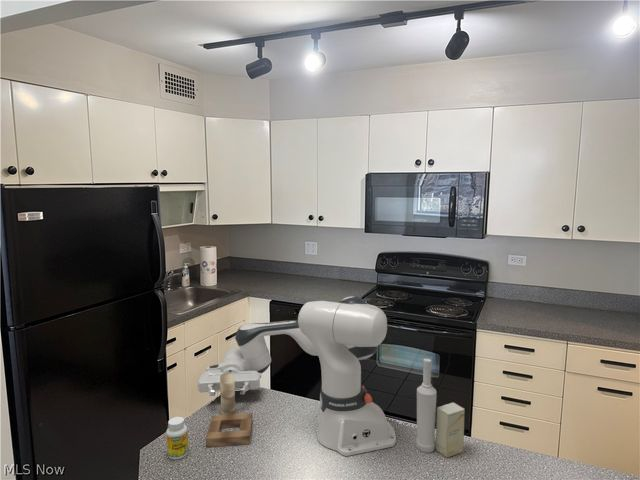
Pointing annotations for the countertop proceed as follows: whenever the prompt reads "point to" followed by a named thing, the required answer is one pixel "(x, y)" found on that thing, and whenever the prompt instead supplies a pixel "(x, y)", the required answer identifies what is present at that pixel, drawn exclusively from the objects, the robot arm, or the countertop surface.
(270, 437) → the countertop surface
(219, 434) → the socket block
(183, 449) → the supplement bottle
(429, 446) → the bottle
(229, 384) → the dowel
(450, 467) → the countertop surface
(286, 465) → the countertop surface
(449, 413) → the skincare box
